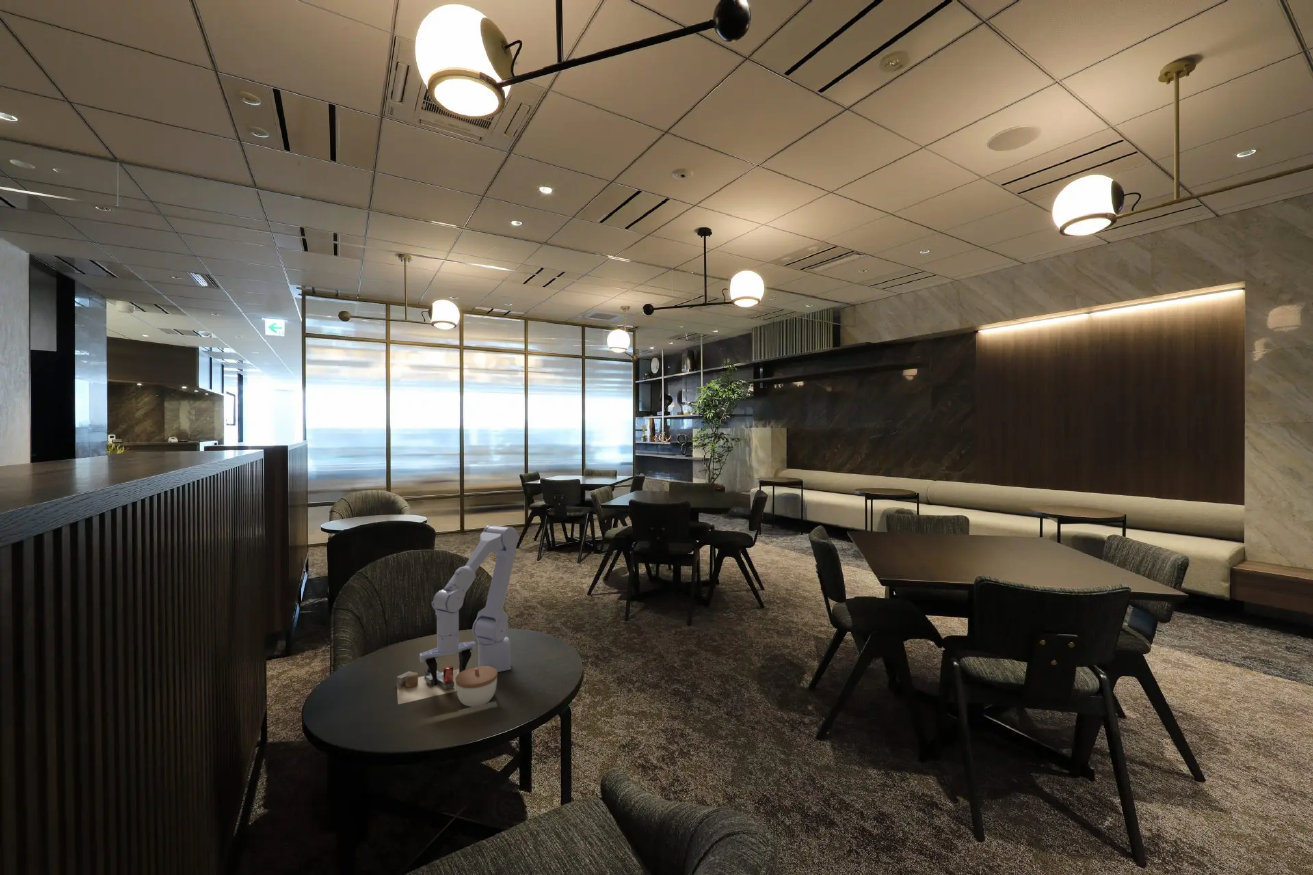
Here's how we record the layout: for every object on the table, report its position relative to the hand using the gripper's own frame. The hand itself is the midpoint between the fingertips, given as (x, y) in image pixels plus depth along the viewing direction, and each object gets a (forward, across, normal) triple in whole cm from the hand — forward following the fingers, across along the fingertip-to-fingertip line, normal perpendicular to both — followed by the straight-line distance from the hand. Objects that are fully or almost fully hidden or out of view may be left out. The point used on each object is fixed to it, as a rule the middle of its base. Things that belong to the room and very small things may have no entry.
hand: (448, 680), depth 144 cm
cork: (+2, +8, -8) cm, 12 cm away
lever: (+2, +2, -5) cm, 6 cm away
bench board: (+3, +3, -5) cm, 7 cm away
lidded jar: (+4, -5, +10) cm, 12 cm away
